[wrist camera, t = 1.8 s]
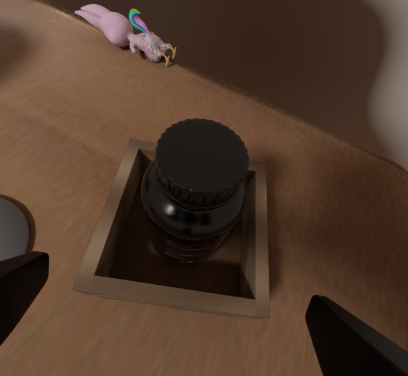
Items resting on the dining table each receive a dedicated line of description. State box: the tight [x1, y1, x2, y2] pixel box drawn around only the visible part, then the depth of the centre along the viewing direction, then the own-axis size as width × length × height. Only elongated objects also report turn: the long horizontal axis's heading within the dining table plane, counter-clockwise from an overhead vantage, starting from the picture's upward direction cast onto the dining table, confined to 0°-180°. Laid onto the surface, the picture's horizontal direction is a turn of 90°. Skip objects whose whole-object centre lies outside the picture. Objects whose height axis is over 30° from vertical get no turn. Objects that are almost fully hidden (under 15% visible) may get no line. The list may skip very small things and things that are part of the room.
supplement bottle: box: [141, 118, 249, 266], centre depth 17 cm, size 7×7×12 cm
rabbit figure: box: [75, 4, 176, 67], centre depth 33 cm, size 6×6×15 cm
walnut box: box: [72, 138, 270, 319], centre depth 20 cm, size 13×13×4 cm
